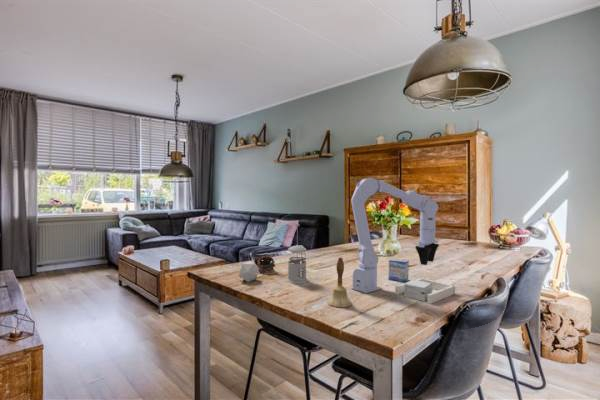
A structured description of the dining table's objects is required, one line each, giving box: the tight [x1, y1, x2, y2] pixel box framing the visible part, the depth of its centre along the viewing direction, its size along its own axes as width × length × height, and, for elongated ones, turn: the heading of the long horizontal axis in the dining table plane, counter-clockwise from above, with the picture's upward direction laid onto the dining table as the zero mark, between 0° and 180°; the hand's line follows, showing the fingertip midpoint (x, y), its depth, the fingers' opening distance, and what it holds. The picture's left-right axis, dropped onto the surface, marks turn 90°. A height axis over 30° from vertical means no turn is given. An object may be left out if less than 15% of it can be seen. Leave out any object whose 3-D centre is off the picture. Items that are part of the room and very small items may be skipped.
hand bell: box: [327, 257, 353, 308], centre depth 114 cm, size 8×8×16 cm
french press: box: [285, 222, 309, 285], centre depth 143 cm, size 10×12×25 cm
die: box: [238, 261, 259, 283], centre depth 143 cm, size 8×9×10 cm
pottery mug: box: [253, 255, 276, 274], centre depth 159 cm, size 12×10×8 cm
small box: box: [403, 279, 434, 302], centre depth 122 cm, size 8×8×5 cm
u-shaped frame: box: [394, 277, 456, 305], centre depth 125 cm, size 18×14×3 cm
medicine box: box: [387, 258, 410, 283], centre depth 144 cm, size 8×4×9 cm, turn 62°
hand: (427, 262), depth 131 cm, fingers open, 7 cm apart
